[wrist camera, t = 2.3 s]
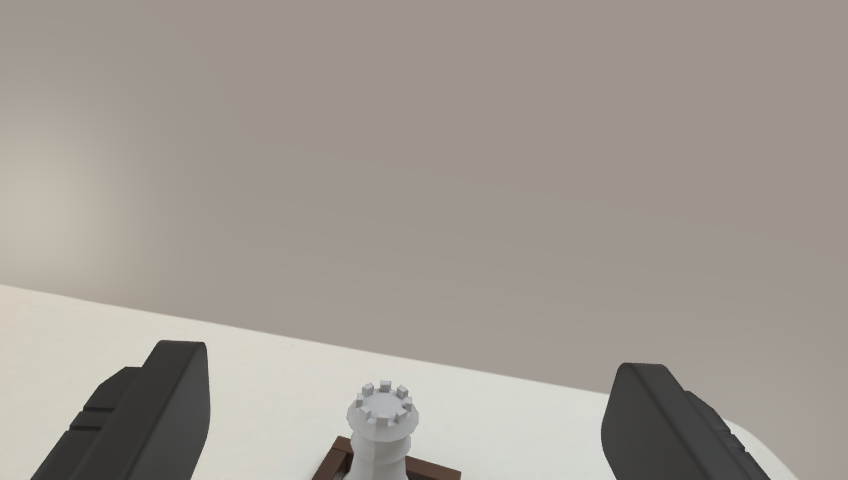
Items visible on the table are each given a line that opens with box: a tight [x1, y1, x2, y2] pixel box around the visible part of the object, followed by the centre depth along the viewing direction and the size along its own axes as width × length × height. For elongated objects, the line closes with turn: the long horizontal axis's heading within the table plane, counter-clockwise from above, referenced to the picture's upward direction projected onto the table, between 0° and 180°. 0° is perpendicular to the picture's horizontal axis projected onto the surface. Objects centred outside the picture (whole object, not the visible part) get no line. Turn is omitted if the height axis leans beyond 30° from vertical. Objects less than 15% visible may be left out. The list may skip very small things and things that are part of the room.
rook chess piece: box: [344, 381, 418, 480], centre depth 26 cm, size 4×4×8 cm
